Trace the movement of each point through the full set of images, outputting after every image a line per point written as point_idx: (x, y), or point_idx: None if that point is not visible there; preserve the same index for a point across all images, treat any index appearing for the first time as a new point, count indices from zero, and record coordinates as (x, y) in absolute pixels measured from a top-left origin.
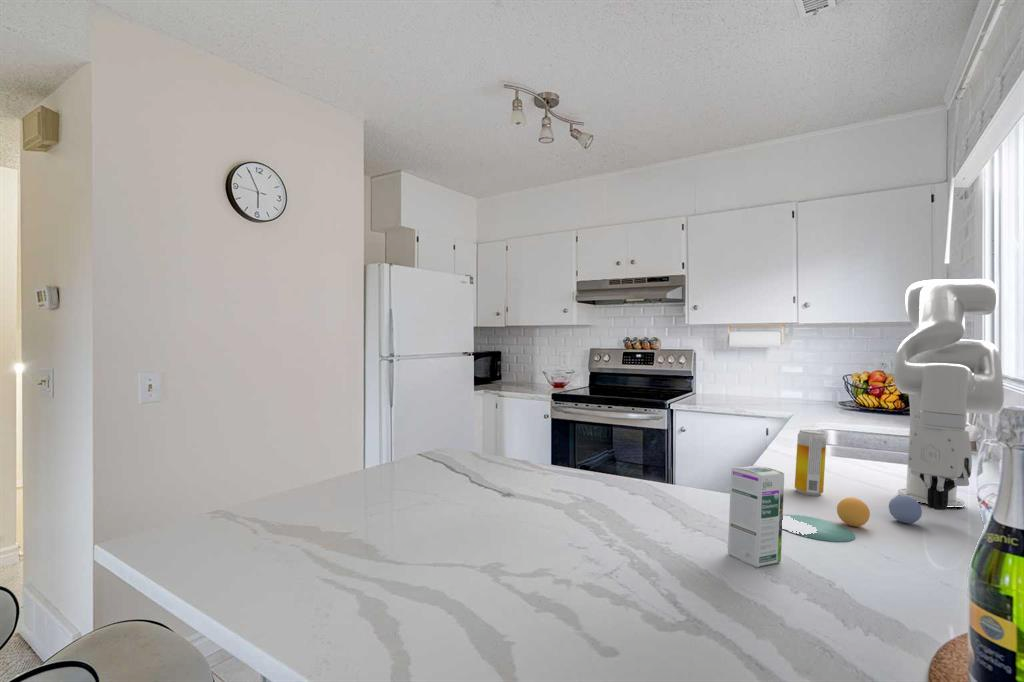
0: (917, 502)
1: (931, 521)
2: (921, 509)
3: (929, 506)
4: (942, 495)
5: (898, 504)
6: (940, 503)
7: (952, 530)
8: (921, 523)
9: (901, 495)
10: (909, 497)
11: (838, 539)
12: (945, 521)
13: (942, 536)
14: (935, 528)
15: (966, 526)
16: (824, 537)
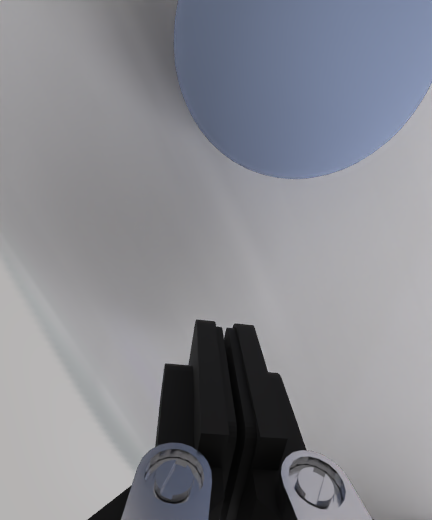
0: (221, 69)
1: (226, 299)
2: (185, 91)
3: (241, 326)
4: (161, 427)
5: None
6: (177, 370)
7: (84, 242)
8: (224, 188)
9: (401, 23)
10: (301, 7)
11: None
12: None
13: (2, 7)
14: (135, 169)
15: (117, 397)
16: None
